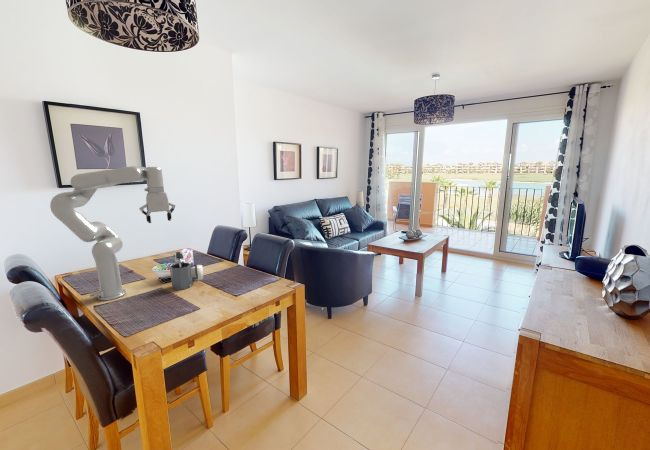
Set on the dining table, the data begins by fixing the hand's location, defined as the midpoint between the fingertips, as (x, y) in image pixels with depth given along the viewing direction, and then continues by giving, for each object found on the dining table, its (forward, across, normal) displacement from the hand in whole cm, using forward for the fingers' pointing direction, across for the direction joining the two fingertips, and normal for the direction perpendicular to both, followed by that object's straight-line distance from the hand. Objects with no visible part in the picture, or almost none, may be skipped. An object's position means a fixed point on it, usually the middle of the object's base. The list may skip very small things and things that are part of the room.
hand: (159, 221), depth 156 cm
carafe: (+40, +10, 0) cm, 41 cm away
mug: (+40, +19, +7) cm, 45 cm away
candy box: (+40, +16, +18) cm, 47 cm away
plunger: (+39, +8, 0) cm, 40 cm away
